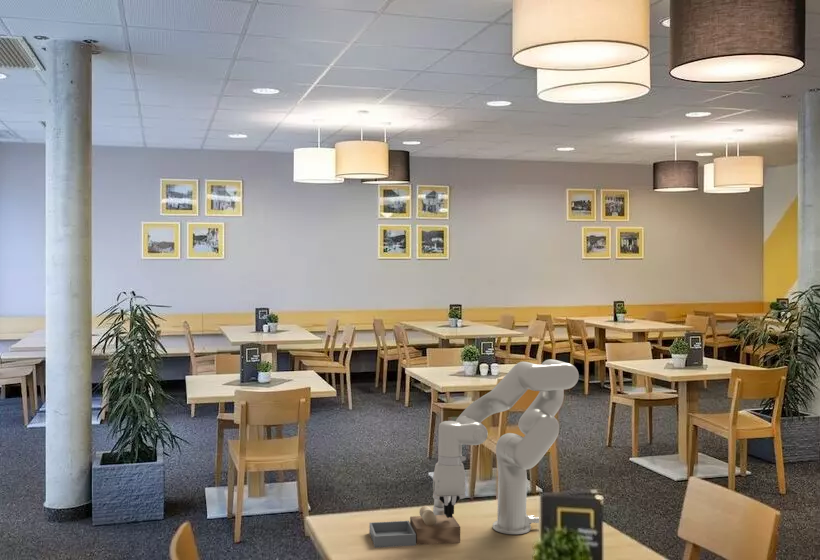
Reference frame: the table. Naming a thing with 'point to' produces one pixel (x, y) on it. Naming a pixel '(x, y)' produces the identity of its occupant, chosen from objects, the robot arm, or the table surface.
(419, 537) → the flat wooden case
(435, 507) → the plastic bottle
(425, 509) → the maple roller
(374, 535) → the box
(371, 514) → the table surface
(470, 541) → the table surface
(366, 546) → the table surface
